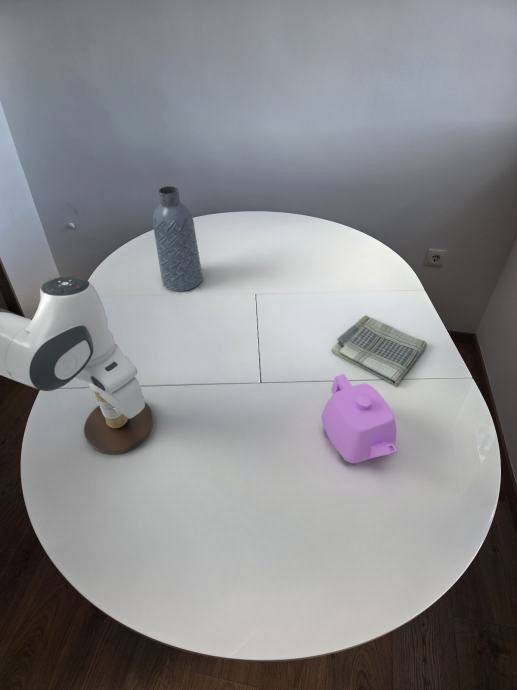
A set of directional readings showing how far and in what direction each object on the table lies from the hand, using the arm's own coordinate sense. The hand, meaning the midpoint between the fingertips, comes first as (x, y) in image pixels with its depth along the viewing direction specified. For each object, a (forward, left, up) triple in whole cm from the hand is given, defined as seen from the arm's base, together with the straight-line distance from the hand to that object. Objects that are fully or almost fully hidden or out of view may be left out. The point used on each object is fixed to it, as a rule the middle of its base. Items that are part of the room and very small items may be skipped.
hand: (111, 405), depth 87 cm
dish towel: (+55, -32, -7) cm, 64 cm away
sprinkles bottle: (0, 0, -5) cm, 5 cm away
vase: (+46, +29, -7) cm, 55 cm away
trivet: (0, 0, -7) cm, 7 cm away
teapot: (+28, -41, -7) cm, 50 cm away
